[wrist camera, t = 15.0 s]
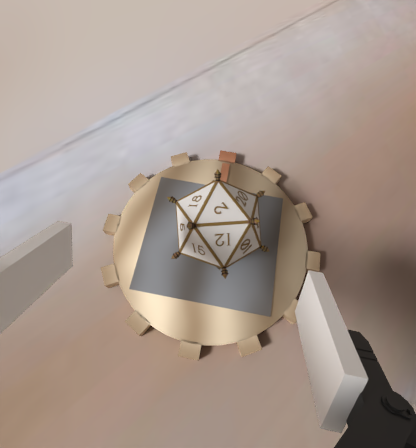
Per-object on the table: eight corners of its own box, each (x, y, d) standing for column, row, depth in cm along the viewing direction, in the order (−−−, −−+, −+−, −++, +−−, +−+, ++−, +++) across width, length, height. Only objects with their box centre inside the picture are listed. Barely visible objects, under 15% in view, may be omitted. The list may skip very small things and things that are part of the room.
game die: (206, 235, 34) (202, 146, 29) (279, 257, 30) (290, 159, 25) (153, 283, 27) (136, 179, 22) (238, 320, 23) (242, 204, 18)
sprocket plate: (320, 174, 34) (325, 167, 33) (309, 382, 26) (314, 384, 25) (137, 142, 35) (134, 134, 34) (73, 334, 28) (66, 333, 26)
